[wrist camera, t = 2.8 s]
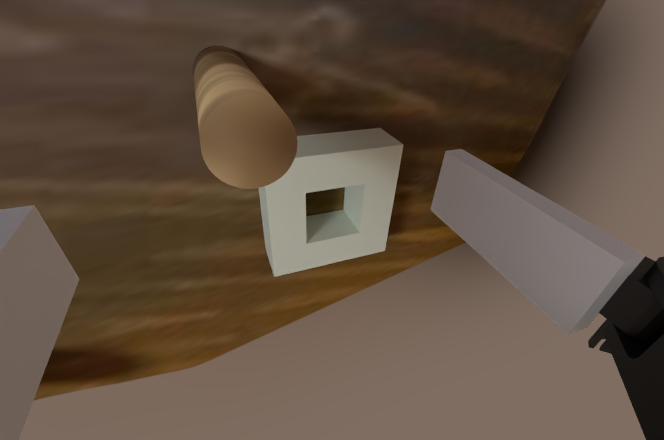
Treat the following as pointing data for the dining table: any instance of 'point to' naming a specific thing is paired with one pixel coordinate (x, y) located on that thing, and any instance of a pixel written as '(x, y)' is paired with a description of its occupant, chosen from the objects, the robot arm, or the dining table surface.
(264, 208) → the socket block
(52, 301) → the robot arm
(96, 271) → the dining table surface
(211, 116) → the oak peg
